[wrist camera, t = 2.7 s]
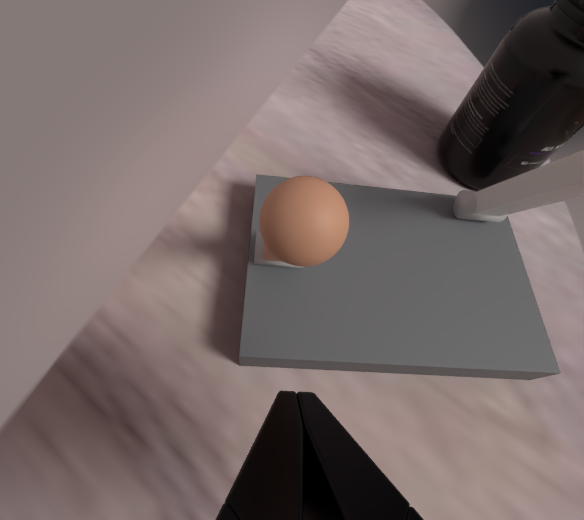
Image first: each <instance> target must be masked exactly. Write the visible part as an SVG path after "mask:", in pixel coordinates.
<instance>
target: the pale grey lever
mask: <svg viewBox="0 0 584 520" xmlns="http://www.w3.org/2000/svg"><path fill="white" fill-rule="evenodd" d="M583 195H584V150H582V151H580V152H577V153H575V154H572V155H569V156H567V157H565V158H562V159H559V160H557V161H554V162H551V163H549V164H546V165H544V166H541V167H539V168H536V169H533V170H531V171H528V172H526V173H523V174H521V175H518V176H515V177H513V178H510V179H508V180H505V181H503V182H500V183H497V184H495V185H492V186H490V187H487V188H485V189H482V190H479V191H477V192H475V191H466V190H463V191H461V192H459V193H458V195H457V196H456V198H455V201H454V205H453V212H454V215H455V217H457V218H460V219H470V220H480V221H490V222H501V221H503V220H504V219H505V218H506V217H507V215H508V214H511V213H515V212H519V211H523V210H527V209H531V208H535V207H539V206H543V205H547V204H551V203H555V202H559V201H563V200H567V199H571V198H575V197H579V196H583Z"/></svg>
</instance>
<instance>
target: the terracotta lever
mask: <svg viewBox="0 0 584 520" xmlns="http://www.w3.org/2000/svg"><path fill="white" fill-rule="evenodd" d="M259 227H260V231H256V242H255V255H254V264H261V265H273V266H286V267H298V268H303V267H308V266H314V265H318V264H320V263H323V262H325V261H327V260H328V259H330V258H331V257H332V256H334V255H335V254H336V253H337V252H338V251H339V249H340V248H341V247H342V245H343V243H344V241H345V239H346V237H347V233H348V230H349V213H348V209H347V206H346V203H345V201H344V199H343V197H342V196H341V195H340V193H339V192H338V191H337V190H336V189H335V188H334V187H333V186H332V185H331V184H329V183H327V182H326V181H324V180H322V179H319V178H316V177H311V176H297V177H293V178H290V179H287V180H285V181H283V182H281V183H280V184H278V185H277V186H275V187H274V188H273V189H272V190H271V191H270V193H269V194H268V195H267V197H266V198H265V200H264V202H263V204H262V207H261V210H260V216H259Z"/></svg>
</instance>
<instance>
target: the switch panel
mask: <svg viewBox="0 0 584 520" xmlns="http://www.w3.org/2000/svg"><path fill="white" fill-rule="evenodd" d="M287 179H290V178H285V177H276V176H266V175H257V174H256V185H255V195H254V206H253V216H252V227H251V237H250V248H249V258H248V268H247V279H246V289H245V300H244V310H243V321H242V331H241V342H240V352H239V365H240V366H260V367H280V368H301V369H321V370H341V371H361V372H381V373H402V374H422V375H442V376H462V377H482V378H503V379H523V380H532V379H536V378H541V377H546V376H550V375H555V374H559V373H560V370H559V367H558V364H557V361H556V358H555V355H554V352H553V349H552V347H551V344H550V341H549V338H548V335H547V332H546V329H545V326H544V323H543V320H542V317H541V314H540V311H539V308H538V305H537V302H536V299H535V296H534V293H533V290H532V287H531V284H530V281H529V278H528V275H527V272H526V269H525V266H524V263H523V260H522V257H521V254H520V252H519V249H518V246H517V243H516V240H515V237H514V234H513V231H512V228H511V225H510V222H509V219H508V216H507V217H506V218H505V219H504V220H503V221H501V222H490V221H480V220H470V219H460V218H457V217H455V215H454V212H453V205H454V201H455V198H456V196H453V195H444V194H435V193H425V192H416V191H406V190H397V189H388V188H378V187H369V186H360V185H350V184H341V183H332V182H327V183H329V184H331V185H332V186H333V187H334V188H335V189H336V190H337V191H338V192H339V193H340V195H341V196H342V197H343V199H344V201H345V203H346V206H347V209H348V213H349V230H348V233H347V237H346V239H345V241H344V243H343V245H342V247H341V248H340V249H339V251H338V252H337V253H336V254H335V255H334V256H332V257H331V258H330V259H328V260H327V261H325V262H323V263H320V264H318V265H314V266H308V267H303V268H298V267H286V266H273V265H261V264H254V255H255V242H256V231H260V227H259V216H260V210H261V207H262V204H263V202H264V200H265V198H266V197H267V195H268V194H269V193H270V191H271V190H272V189H273V188H274V187H275V186H277V185H278V184H280V183H281V182H283V181H285V180H287Z"/></svg>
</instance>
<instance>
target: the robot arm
mask: <svg viewBox="0 0 584 520" xmlns="http://www.w3.org/2000/svg"><path fill="white" fill-rule="evenodd" d="M409 506H410V504H409V502H408V501H407V500H406V499H405V498H404V497H403V495H402V494H401V493H400V492H399V491H398V490H397V488H396V487H395V486H394V485H393V484H392V483H391V482H390V480H389V479H388V478H387V477H386V476H385V475H384V473H383V472H382V471H381V470H380V469H379V468H378V466H377V465H376V464H375V463H374V462H373V461H372V460H371V458H370V457H369V456H368V455H367V454H366V453H365V451H364V450H363V449H362V448H361V447H360V446H359V444H358V443H357V442H356V441H355V440H354V439H353V438H352V436H351V435H350V434H349V433H348V432H347V431H346V429H345V428H344V427H343V426H342V425H341V424H340V422H339V421H338V420H337V419H336V418H335V417H334V416H333V414H332V413H331V412H330V411H329V410H328V409H327V407H326V406H325V405H324V404H323V403H322V402H321V400H320V399H319V398H318V397H317V396H316V395H315V394H314V393H312V392H298V393H297V394H296V393H295V392H294V391H279V393H278V394H277V396H276V398H275V400H274V402H273V405H272V407H271V409H270V411H269V413H268V415H267V417H266V419H265V421H264V423H263V425H262V427H261V429H260V431H259V433H258V435H257V437H256V439H255V441H254V443H253V445H252V447H251V449H250V451H249V453H248V455H247V457H246V459H245V461H244V463H243V466H242V468H241V470H240V472H239V474H238V476H237V478H236V480H235V482H234V484H233V486H232V488H231V490H230V492H229V494H228V496H227V498H226V500H225V503H224V504H223V506H222V508H221V510H220V512H219V514H218V516H217V518H216V520H424V519H423V518H422V517H421V516H420V515H419V514H418V513H417V511H416V510H415V509H414V508H413V507H409Z"/></svg>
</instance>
